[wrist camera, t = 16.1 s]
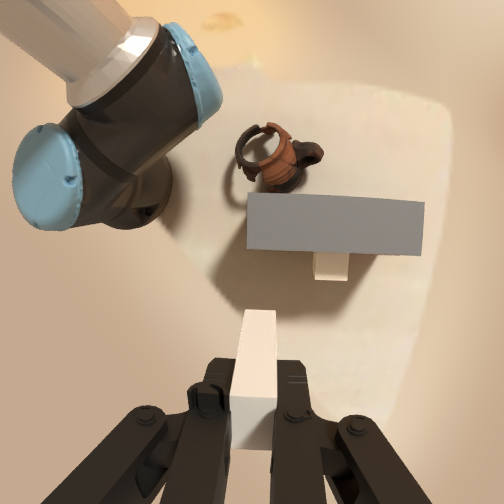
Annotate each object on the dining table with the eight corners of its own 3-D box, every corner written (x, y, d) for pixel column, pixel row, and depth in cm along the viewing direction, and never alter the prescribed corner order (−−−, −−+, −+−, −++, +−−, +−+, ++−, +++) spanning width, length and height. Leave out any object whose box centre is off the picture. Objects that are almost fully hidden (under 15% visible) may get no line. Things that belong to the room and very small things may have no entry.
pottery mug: (255, 205, 49) (229, 181, 41) (253, 153, 51) (229, 125, 44) (333, 188, 44) (319, 158, 37) (324, 135, 47) (309, 101, 40)
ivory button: (312, 271, 43) (314, 279, 39) (314, 234, 42) (317, 238, 38) (341, 272, 42) (347, 280, 38) (344, 235, 42) (350, 239, 37)
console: (258, 234, 49) (246, 248, 35) (259, 194, 48) (247, 192, 34) (386, 240, 47) (420, 256, 33) (388, 200, 46) (424, 202, 32)
